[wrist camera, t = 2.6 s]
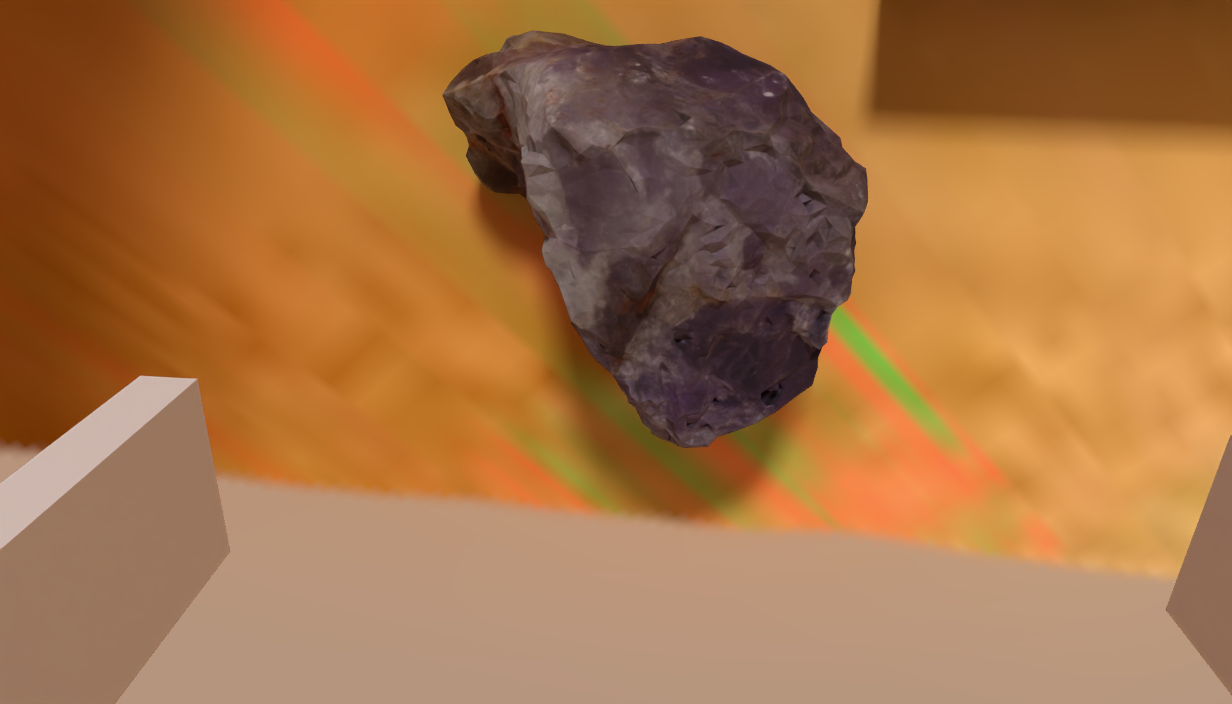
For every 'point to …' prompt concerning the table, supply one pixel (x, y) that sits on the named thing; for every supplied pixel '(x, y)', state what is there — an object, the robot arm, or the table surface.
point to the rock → (674, 215)
